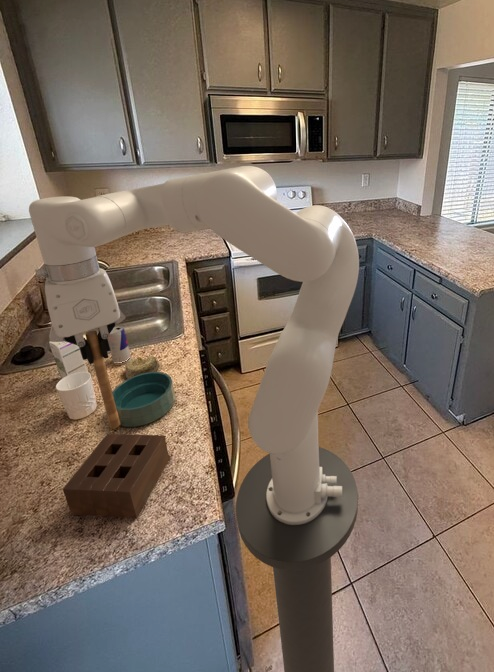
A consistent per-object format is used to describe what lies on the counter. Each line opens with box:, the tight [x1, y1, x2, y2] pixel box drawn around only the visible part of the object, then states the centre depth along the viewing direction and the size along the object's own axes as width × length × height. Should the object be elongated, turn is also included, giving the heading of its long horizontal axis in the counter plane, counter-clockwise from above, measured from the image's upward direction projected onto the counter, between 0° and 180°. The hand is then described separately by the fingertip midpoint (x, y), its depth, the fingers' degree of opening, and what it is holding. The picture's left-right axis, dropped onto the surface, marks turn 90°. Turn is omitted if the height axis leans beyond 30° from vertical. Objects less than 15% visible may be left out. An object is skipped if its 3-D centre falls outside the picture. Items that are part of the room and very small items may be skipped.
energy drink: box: [108, 325, 132, 366], centre depth 119 cm, size 5×5×12 cm
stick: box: [85, 329, 121, 430], centre depth 70 cm, size 2×2×22 cm
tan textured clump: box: [124, 354, 160, 380], centre depth 114 cm, size 10×10×5 cm
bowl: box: [112, 371, 176, 428], centre depth 98 cm, size 15×15×6 cm
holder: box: [62, 433, 170, 519], centre depth 76 cm, size 14×14×7 cm
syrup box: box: [48, 340, 89, 380], centre depth 109 cm, size 6×6×14 cm
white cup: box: [55, 371, 98, 421], centre depth 97 cm, size 8×8×10 cm
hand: (97, 357), depth 68 cm, fingers closed on stick, 1 cm apart
